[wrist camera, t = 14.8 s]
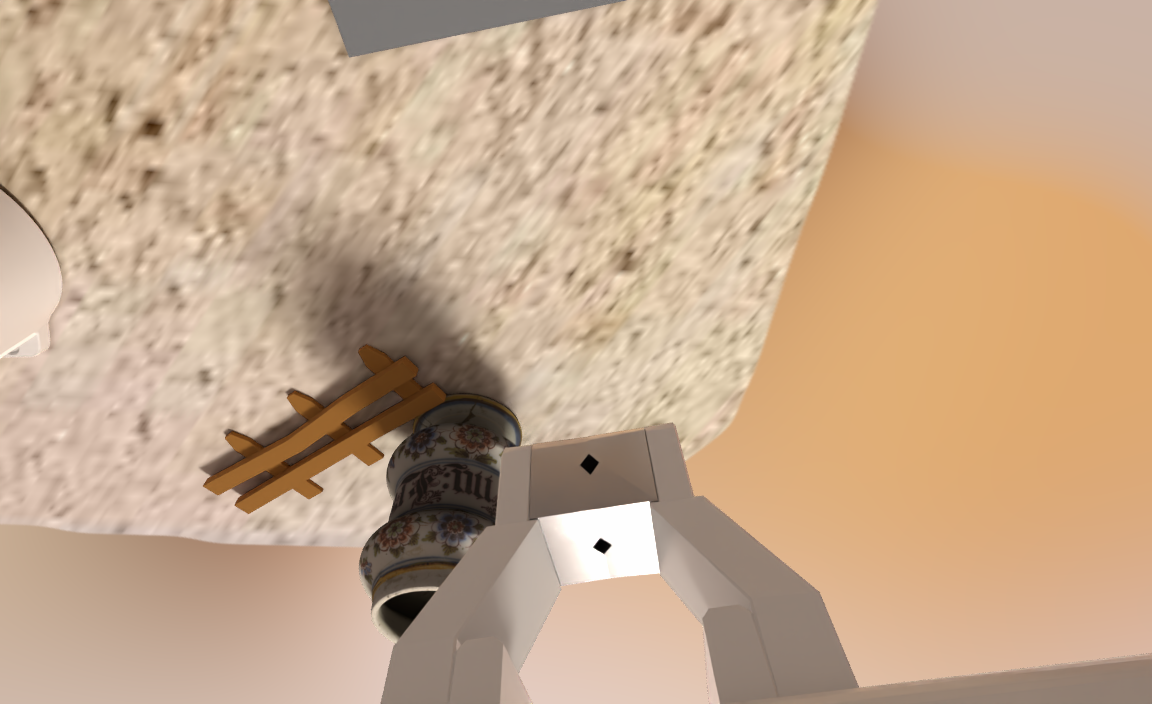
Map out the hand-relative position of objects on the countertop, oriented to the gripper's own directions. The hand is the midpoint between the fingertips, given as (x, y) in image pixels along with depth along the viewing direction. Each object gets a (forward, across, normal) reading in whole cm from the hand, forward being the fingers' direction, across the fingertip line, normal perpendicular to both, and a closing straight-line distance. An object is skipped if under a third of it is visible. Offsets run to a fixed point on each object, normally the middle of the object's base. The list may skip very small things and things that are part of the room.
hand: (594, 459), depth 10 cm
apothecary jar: (+31, +14, +27) cm, 44 cm away
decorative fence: (+32, +27, +25) cm, 48 cm away
